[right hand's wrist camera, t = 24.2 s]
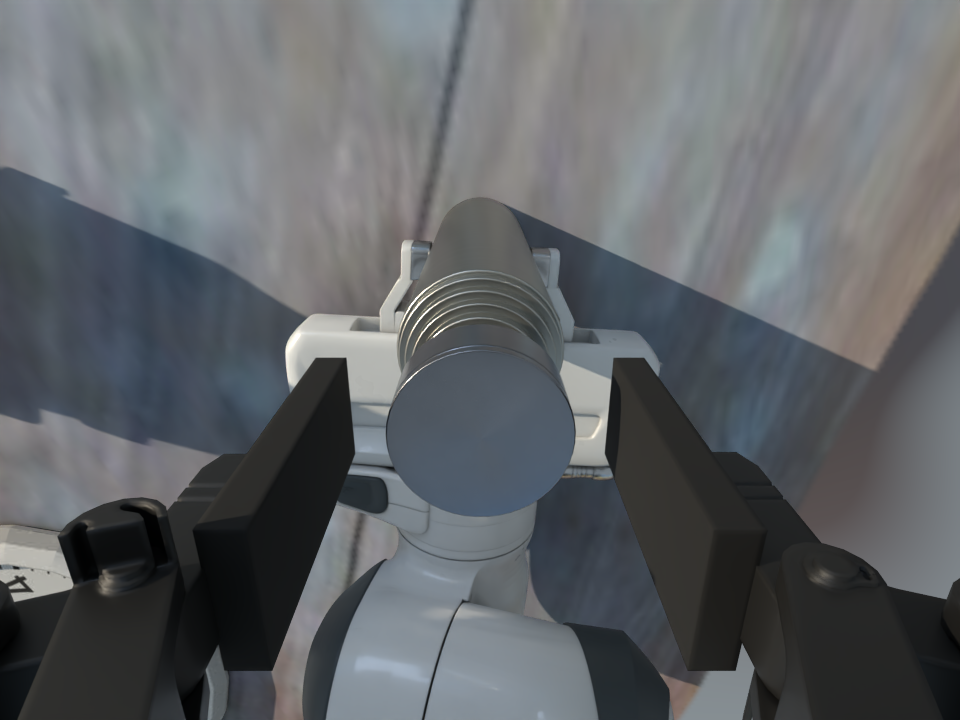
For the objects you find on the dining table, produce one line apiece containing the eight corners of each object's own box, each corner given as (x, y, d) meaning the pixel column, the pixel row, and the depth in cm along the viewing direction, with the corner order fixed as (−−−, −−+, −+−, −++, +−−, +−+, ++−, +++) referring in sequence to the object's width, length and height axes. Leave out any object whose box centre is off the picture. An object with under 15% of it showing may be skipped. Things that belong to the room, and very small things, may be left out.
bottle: (435, 278, 37) (367, 506, 15) (440, 193, 35) (372, 307, 13) (517, 286, 37) (573, 521, 15) (527, 201, 35) (609, 328, 13)
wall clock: (289, 742, 51) (25, 833, 55) (295, 724, 52) (37, 814, 57) (58, 480, 40) (-241, 619, 45) (74, 468, 42) (-218, 603, 47)
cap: (366, 425, 15) (351, 463, 13) (453, 289, 14) (450, 313, 12) (503, 500, 16) (506, 545, 14) (598, 380, 15) (615, 414, 13)
